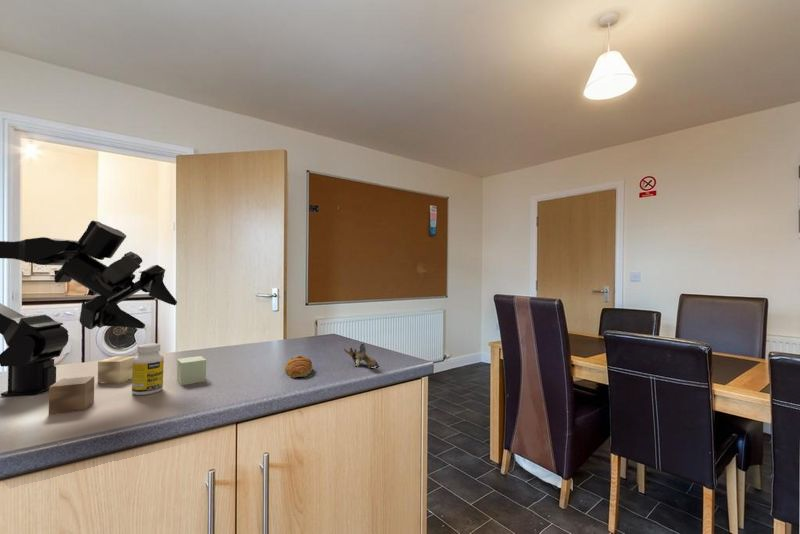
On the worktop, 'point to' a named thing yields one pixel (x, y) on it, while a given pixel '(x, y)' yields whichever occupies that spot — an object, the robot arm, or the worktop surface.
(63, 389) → the walnut block
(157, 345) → the supplement bottle
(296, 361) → the pastry
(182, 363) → the sage block
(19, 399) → the worktop surface
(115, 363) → the maple block
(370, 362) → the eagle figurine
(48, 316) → the robot arm
